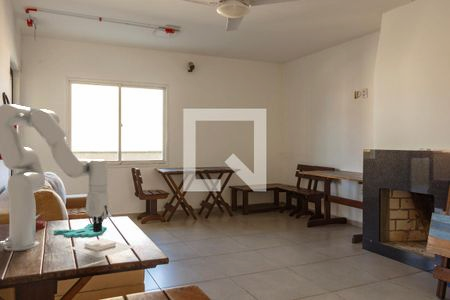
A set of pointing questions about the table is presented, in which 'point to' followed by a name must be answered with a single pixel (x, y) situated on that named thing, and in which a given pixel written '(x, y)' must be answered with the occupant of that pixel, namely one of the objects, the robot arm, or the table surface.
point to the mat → (103, 252)
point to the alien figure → (80, 232)
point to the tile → (100, 244)
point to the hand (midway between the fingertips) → (97, 231)
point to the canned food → (40, 223)
